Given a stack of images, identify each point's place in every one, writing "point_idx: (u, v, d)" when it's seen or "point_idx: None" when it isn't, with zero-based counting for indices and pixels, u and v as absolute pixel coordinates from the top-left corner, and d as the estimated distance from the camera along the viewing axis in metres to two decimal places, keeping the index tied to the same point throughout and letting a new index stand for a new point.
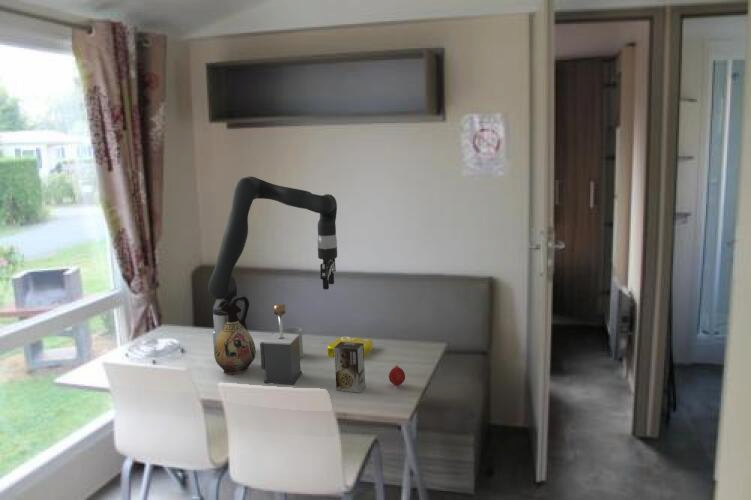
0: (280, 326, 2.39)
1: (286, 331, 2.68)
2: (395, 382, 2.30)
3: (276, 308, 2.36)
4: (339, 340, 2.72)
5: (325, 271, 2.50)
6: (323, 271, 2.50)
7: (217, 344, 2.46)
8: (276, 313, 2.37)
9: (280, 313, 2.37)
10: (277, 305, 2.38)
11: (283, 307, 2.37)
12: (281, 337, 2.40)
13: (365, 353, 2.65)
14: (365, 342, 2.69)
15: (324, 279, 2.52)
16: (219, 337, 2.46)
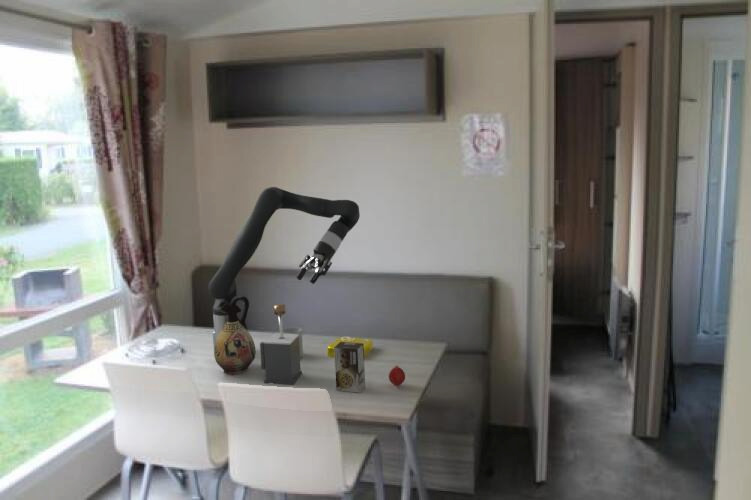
0: (280, 326, 2.39)
1: (286, 331, 2.68)
2: (395, 382, 2.30)
3: (276, 308, 2.36)
4: (339, 340, 2.72)
5: (328, 268, 2.42)
6: (326, 266, 2.42)
7: (217, 344, 2.46)
8: (276, 313, 2.37)
9: (280, 313, 2.37)
10: (277, 305, 2.38)
11: (283, 307, 2.37)
12: (281, 337, 2.40)
13: (365, 353, 2.65)
14: (365, 342, 2.69)
15: (320, 273, 2.41)
16: (219, 337, 2.46)
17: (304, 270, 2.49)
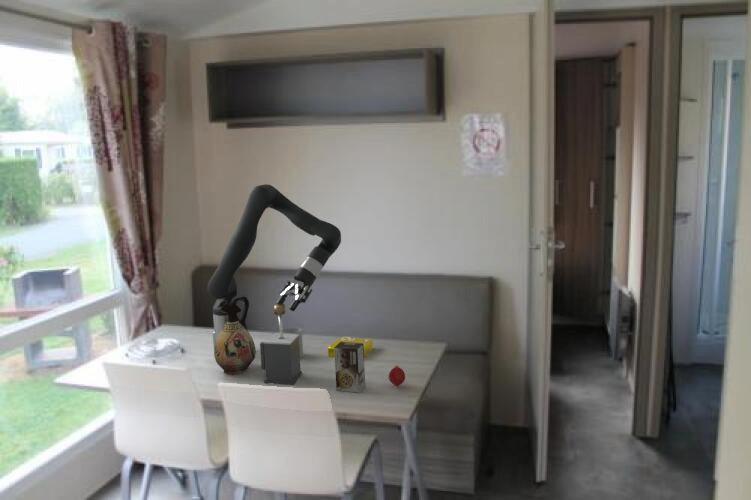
0: (280, 326, 2.39)
1: (286, 331, 2.68)
2: (395, 382, 2.30)
3: (276, 308, 2.36)
4: (339, 340, 2.72)
5: (308, 295, 2.38)
6: (306, 294, 2.37)
7: (217, 344, 2.46)
8: (276, 313, 2.37)
9: (280, 313, 2.37)
10: (277, 305, 2.38)
11: (283, 307, 2.37)
12: (281, 337, 2.40)
13: (365, 353, 2.65)
14: (365, 342, 2.69)
15: (300, 301, 2.37)
16: (219, 337, 2.46)
17: (284, 296, 2.44)
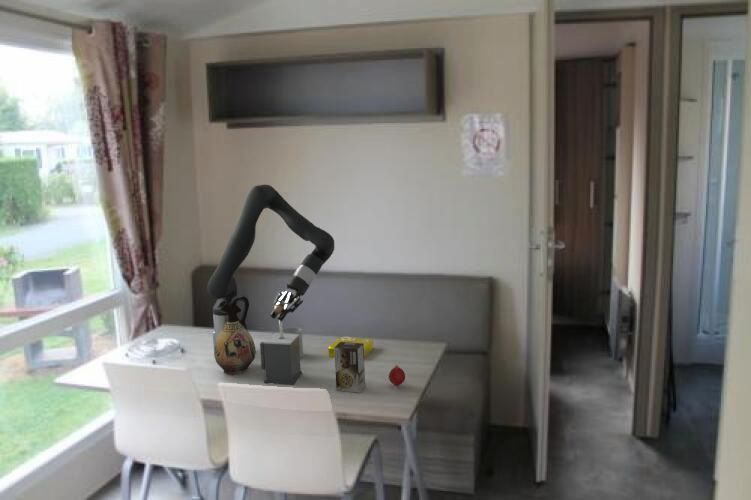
0: (280, 326, 2.39)
1: (286, 331, 2.68)
2: (395, 382, 2.30)
3: (276, 308, 2.36)
4: (340, 340, 2.72)
5: (297, 306, 2.36)
6: (295, 305, 2.36)
7: (217, 344, 2.46)
8: (276, 313, 2.37)
9: None
10: (277, 305, 2.38)
11: (283, 307, 2.37)
12: (281, 337, 2.40)
13: (366, 353, 2.65)
14: (366, 342, 2.69)
15: None
16: (219, 337, 2.46)
17: None
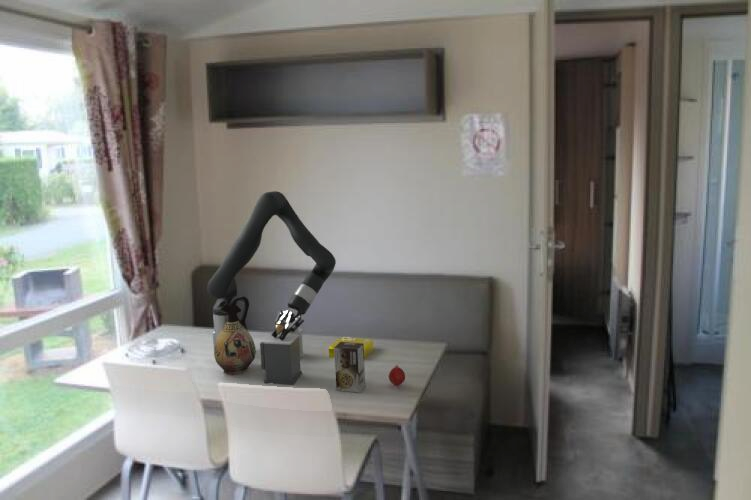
0: None
1: None
2: (395, 382, 2.30)
3: (277, 328, 2.38)
4: (340, 340, 2.72)
5: (298, 325, 2.37)
6: (296, 324, 2.37)
7: (217, 344, 2.46)
8: (277, 332, 2.38)
9: None
10: (278, 324, 2.39)
11: (284, 327, 2.38)
12: None
13: (366, 353, 2.64)
14: (366, 342, 2.69)
15: None
16: (219, 337, 2.46)
17: None
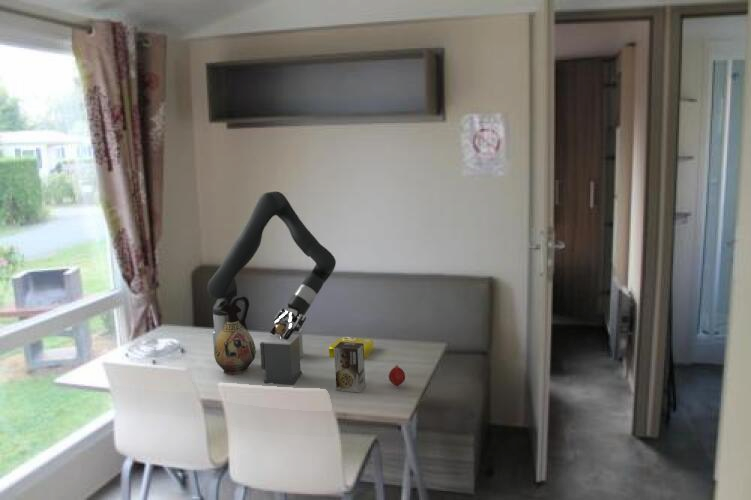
0: None
1: None
2: (395, 382, 2.30)
3: (277, 327, 2.38)
4: (340, 340, 2.72)
5: (301, 323, 2.37)
6: (300, 322, 2.37)
7: (217, 344, 2.46)
8: (277, 332, 2.38)
9: (281, 332, 2.38)
10: (278, 324, 2.39)
11: (284, 327, 2.38)
12: None
13: (366, 353, 2.64)
14: (366, 342, 2.68)
15: (294, 329, 2.36)
16: (219, 337, 2.46)
17: None
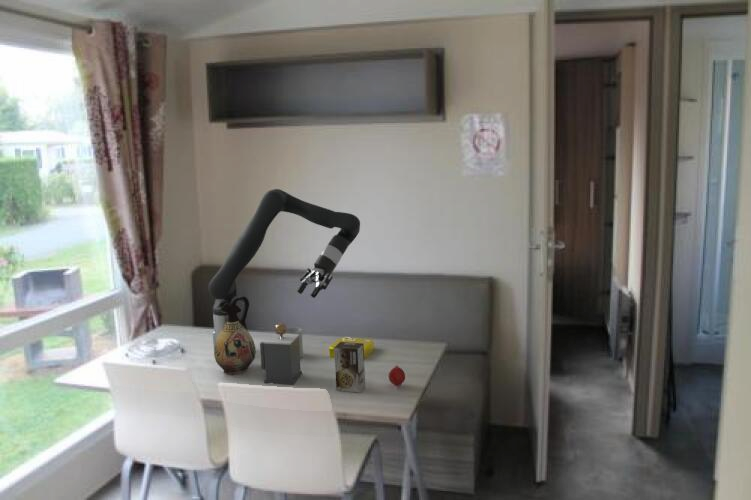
0: None
1: None
2: (395, 382, 2.30)
3: (277, 327, 2.38)
4: (340, 341, 2.72)
5: (328, 282, 2.43)
6: (327, 281, 2.43)
7: (217, 344, 2.46)
8: (277, 332, 2.38)
9: (281, 332, 2.38)
10: (278, 324, 2.39)
11: (284, 327, 2.38)
12: None
13: (367, 353, 2.64)
14: (367, 342, 2.68)
15: (321, 288, 2.42)
16: (219, 337, 2.46)
17: (305, 284, 2.50)
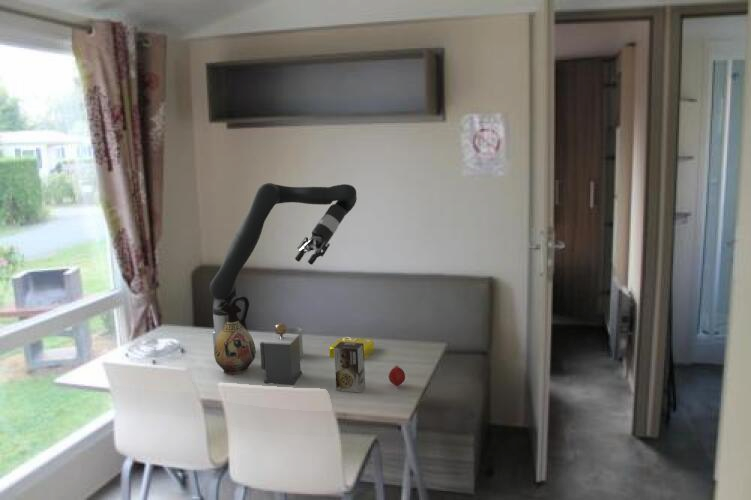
0: None
1: None
2: (395, 382, 2.30)
3: (277, 327, 2.38)
4: (341, 341, 2.71)
5: (325, 249, 2.49)
6: (324, 248, 2.48)
7: (217, 344, 2.46)
8: (277, 332, 2.38)
9: (281, 332, 2.38)
10: (278, 324, 2.39)
11: (284, 327, 2.38)
12: None
13: (367, 353, 2.64)
14: (367, 342, 2.68)
15: (318, 255, 2.48)
16: (219, 337, 2.46)
17: (302, 252, 2.56)
